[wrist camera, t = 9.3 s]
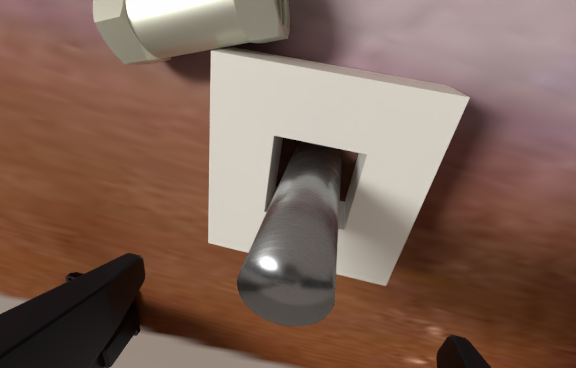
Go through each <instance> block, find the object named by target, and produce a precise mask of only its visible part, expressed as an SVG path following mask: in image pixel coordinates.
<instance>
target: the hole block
mask: <svg viewBox="0 0 576 368" xmlns="http://www.w3.org/2000/svg"><path fill="white" fill-rule="evenodd" d="M469 98H470V97H468V96H466V95H465V94H463V93H461V92H459V91H457V90H455V89H453V88H452V87H450V86H448V85H443V84H437V83H432V82H426V81H421V80H415V79H409V78H404V77H398V76H393V75H387V74H381V73H376V72H370V71H364V70H359V69H353V68H348V67H342V66H336V65H331V64H325V63H320V62H314V61H308V60H303V59H297V58H292V57H286V56H280V55H275V54H269V53H263V52H258V51H252V50H247V49H241V48H235V47H233V48H226V49H219V50H212V51H211V80H210V154H209V228H208V243H211V244H215V245H219V246H223V247H227V248H231V249H235V250H239V251H244V252H248V253H249V251H250V248H251V246H252V244H253V242H254V239H255V237H256V235H257V233H258V230H259V228H260V226H261V224H262V221H263V219H264V217H265V215H266V213H267V210H268V208H269V206H270V204H271V201H272V199H273V197H274V195H275V192H276V190H277V188H278V187H276V182H277V176H278V169H279V162H280V155H281V148H282V141H283V137H284V138H288V139H293V140H298V141H303V142H308V143H313V144H318V145H323V146H328V147H333V148H338V149H342V150H347V151H352V152H357V153H359V154H358V158H357V161H356V165H355V168H354V172H353V175H352V178H351V182H350V185H349V189H348V192H347V196H346V199H345V202H344V201H340V202H339V223H338V243H337V264H336V274H338V275H342V276H347V277H351V278H355V279H359V280H363V281H367V282H371V283H375V284H379V285H384V286H386V285H387V283H388V280H389V278H390V276H391V274H392V271H393V269H394V267H395V265H396V262H397V260H398V258H399V256H400V253H401V251H402V249H403V247H404V244H405V242H406V240H407V238H408V235H409V233H410V231H411V229H412V226H413V224H414V222H415V220H416V217H417V215H418V213H419V211H420V208H421V206H422V204H423V202H424V199H425V197H426V195H427V193H428V190H429V188H430V186H431V184H432V182H433V179H434V177H435V175H436V173H437V170H438V168H439V166H440V164H441V161H442V159H443V157H444V155H445V152H446V150H447V148H448V146H449V143H450V141H451V139H452V137H453V134H454V132H455V130H456V128H457V125H458V123H459V121H460V119H461V116H462V114H463V112H464V110H465V107H466V105H467V103H468V101H469Z"/></svg>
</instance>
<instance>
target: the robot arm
mask: <svg viewBox="0 0 576 368" xmlns="http://www.w3.org/2000/svg"><path fill="white" fill-rule="evenodd" d="M144 280H145V269H144V261H143V258H142V256H140V255H136V254H132V253H127V254H125V255H123V256H120V257H118V258H116V259H114V260H112V261H110V262H108V263H106V264H104V265H102V266H100V267H98V268H96V269H93V270H91V271H89V272H87V273H85V274H83V275H79V274H75V273H70V274H68V275H67V276H66V281H67V282H66V283H64V284H62V285H60V286H58V287H56V288H54V289H52V290H50V291H48V292H46V293H43V294H41V295H39V296H37V297H35V298H33V299H31V300H29V301H27V302H25V303H23V304H21V305H19V306H16V307H14V308H12V309H10V310H8V311H6V312H4V313H2V314H0V368H109V367H111V366H112V365H113V363H114V362H115V360H116V359H117V358H118V356H119V355H120V353H121V352H122V351H123V349H124V348H125V346H126V345H127V344H128V342H129V341H130V339H131V338H132V336H133V335H135V336H136V335H138V333H139V332H140V325H139V319H138V314H137V308H136V302H135V296H136V295H137V293H138V291H139V289H140V288H141V286H142V284H143V282H144ZM437 368H491V367H490V366H489V364H488V363H487V362H486V361H485V360H484V358H483V357H482V356H481V355H480V354H479V352H478V351H477V350H476V349H475V348H474V346H473V345H472V344H471V343H470V342H469V341H468V340H467V339H466V338H463V337H459V336H456V335H449V336H448V337H447V339H446V340H445V341H444V343H443V344H442V346H441V347H440V349H439V350H438V353H437Z"/></svg>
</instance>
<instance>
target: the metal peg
mask: <svg viewBox="0 0 576 368" xmlns="http://www.w3.org/2000/svg"><path fill="white" fill-rule="evenodd" d="M340 182H341V156H340V153H339V151H338V150H337V148H333V147H328V146H323V145H318V144H313V143H308V142H302V143H301V144H299V145H298V146H297V147H296V149H295V150H294V152H293V154H292V157H291V159H290V161H289V163H288V166H287V168H286V170H285V172H284V174H283V177H282V179H281V181H280V183H279V186H278V188H277V190H276V192H275V195H274V197H273V199H272V201H271V204H270V206H269V208H268V210H267V213H266V215H265V217H264V219H263V221H262V224H261V226H260V228H259V230H258V233H257V235H256V237H255V239H254V242H253V244H252V246H251V248H250V251H249V253H248V255H247V257H246V259H245V262H244V264H243V266H242V268H241V271H240V273H239V276H238V280H237V286H238V291H239V294H240V296H241V298H242V300H243V301H244V303H245V304H246V305H247V306H248V307H249V308H250V309H251V310H252V311H253V312H255V313H256V314H257V315H259V316H260V317H262V318H264V319H266V320H268V321H271V322H273V323H277V324H280V325H285V326H306V325H310V324H314V323H316V322H319V321H320V320H322V319H323V318H325V317H326V316H327V315H328V314H329V313H330V311H331V310H332V308H333V306H334V302H335V284H336V264H337V243H338V223H339V202H340Z"/></svg>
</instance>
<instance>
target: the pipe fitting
mask: <svg viewBox="0 0 576 368" xmlns="http://www.w3.org/2000/svg"><path fill="white" fill-rule="evenodd" d="M93 17H94V23H95V25H96V27H97V29H98V31H99V33H100V34H101V36H102V38H103V39H104V41H105V42H106V44H107V45H108V47H109V48H110V49H111V50H112V52H113V53H114V54H115V55H116V56H117V57H118V58H119V60H120V61H121V62H122V63H123V64H128V65H136V64H151V63H157V62H162V61H168V60H171V57H174V56H179V55H184V54H190V53H195V52H201V51H206V50H212V49H217V48H223V47H228V46H233V45H239V44H244V43H250V42H251V43H267V42H273V41H278V40H284V39H288V36H289V33H290V9H289V0H93Z"/></svg>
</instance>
